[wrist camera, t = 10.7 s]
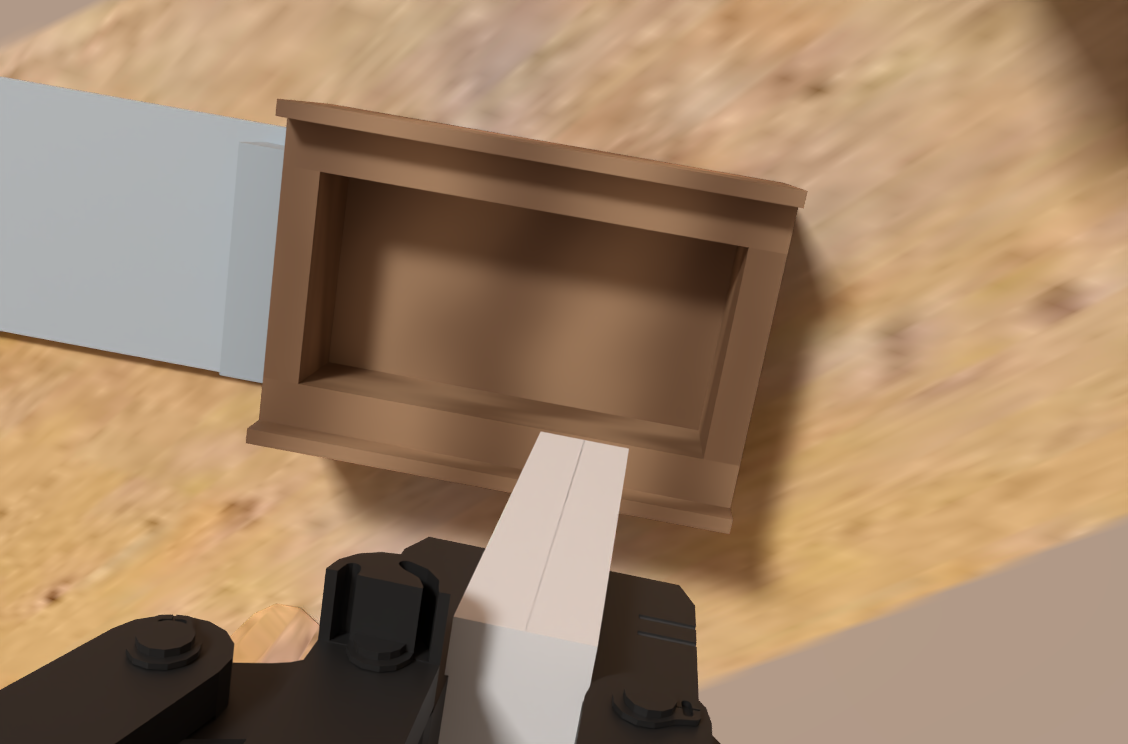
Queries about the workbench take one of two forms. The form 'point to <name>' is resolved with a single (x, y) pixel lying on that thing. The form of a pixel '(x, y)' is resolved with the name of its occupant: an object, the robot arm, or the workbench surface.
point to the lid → (137, 227)
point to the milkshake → (275, 636)
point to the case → (517, 306)
